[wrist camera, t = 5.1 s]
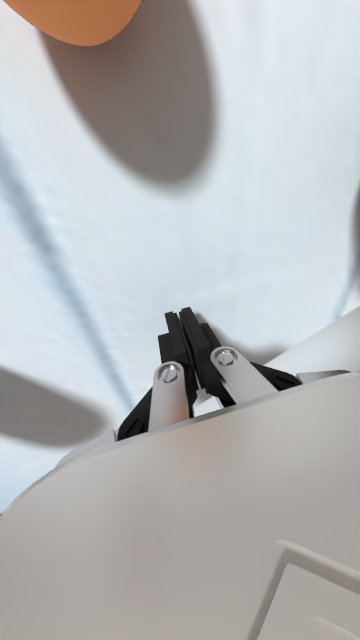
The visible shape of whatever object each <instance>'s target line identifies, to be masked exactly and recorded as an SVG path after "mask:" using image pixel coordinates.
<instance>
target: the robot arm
mask: <svg viewBox="0 0 360 640" xmlns="http://www.w3.org/2000/svg"><path fill="white" fill-rule="evenodd" d="M181 310H182V311H181V312H179V315H180V320H181V324H182V327H181V324H180V321H179V318H178V316H177V313H173V311H172V312H168V313H165V318H166V322H167V326H168V330H169V333H166V334H163V335H159V336H158V341H159V348H160V355H161V362H162V365H160V366H159V367H158V368H157V369H156V371H155V373H154V380H153V386H152V388H151V389H150V390H149V391H148V392H147V394H146V395H145V396H144V397H143V398H142V400H141V401H140V402H139V403H138V405H137V406H136V407H135V408H134V409H133V411H132V412H131V413H130V414H129V415H128V417H127V418H126V419H125V420H124V421H123V423H122V424H121V426H120V428H119V429H117V430H115V431H114V429H112V430H110V431H108V432H106V433H105V434H103V435H101V436H99V437H97V438H95V439H93V440H92V441H90V442H88V443H86V444H84V445H82V446H81V447H79V448H77V449H75V450H73V451H71V452H70V453H68V454H67V455H66V456H64V457H63V458H62V459H61V460H60V462H59V463H58V464H57V466H56V468H54V469H53V470H51V471H50V472H48V473H47V474H45V475H44V476H43V477H41V478H40V479H38V480H37V481H36V482H34V483H33V484H32V485H30V486H29V487H28V488H27V489H25V490H24V491H23V492H22V493H21V494H20V495H19V496H18V497H17V498H16V499H15V500H14V501H13V502H12V503H11V504H10V505H9V506H8V507H7V508H6V509H5V511H4V512H3V513H2V515H1V516H0V640H360V371H358V372H349V371H346V370H335V371H323V372H310V373H298V374H297V375H296V376H293V375H291V374H288V373H286V372H283V371H279V370H275V369H272V368H269V367H266V366H262V365H259V364H255V363H252V362H249V361H248V360H247V359H246V358H245V357H244V356H243V355H242V354H241V353H240V352H239V351H237V350H236V349H234V348H232V347H227V346H225V347H222V346H221V344H220V343H219V341H218V339H217V338H216V336H215V335H214V333H213V331H212V330H211V328H210V327H209V325H208V323H203V324H199V323H198V321H197V319H196V318H195V316H194V314H193V312H192V310H191V308H190V307H187V308H183V309H181ZM194 369H195V370H194ZM195 372H196V375H197V378H198V381H199V384H200V386H201V389H204V388H205V390H206V393H207V394H208V393H209V394H211V395H213V396H215V397H216V400H217V402H218V404H219V405H220V407H221V409H220V410H217V411H213V412H210V413H207V414H204V415H200V416H198V417H194V408H193V404H194V402H195V400H196V399H197V393H196V391H197V390H199V389H198V384H197V379H196V375H195Z"/></svg>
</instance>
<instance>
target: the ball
mask: <svg viewBox="0 0 360 640" xmlns="http://www.w3.org/2000/svg"><path fill="white" fill-rule="evenodd" d="M3 1H4V2H5V3H6V4H7V5H9V6H10V7H11V8H12V9H13V10H14V11H15V12H17V13H18V14H19V15H20V16H22V17H23V18H24V19H25V20H26V21H28V22H29V23H30V24H32V25H33V26H35V27H36V28H38V29H39V30H41V31H42V32H44V33H45V34H47V35H49V36H51V37H53V38H55V39H57V40H59V41H61V42H65V43H68V44H72V45H75V46H94V45H100V44H102V43H104V42H107V41H109V40H111V39H112V38H113V37H115V36H116V35H117V34H119V33H120V32H121V31H122V30H123V29H124V28H125V26H126V25H127V24H128V23H129V22H130V20H131V19H132V17H133V16H134V14H135V12H136V11H137V9H138V8H139V5H140V3H141V1H142V0H3Z"/></svg>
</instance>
